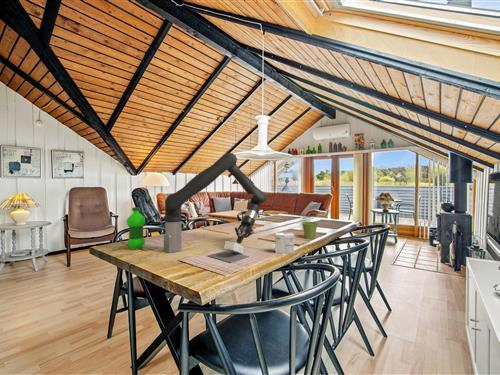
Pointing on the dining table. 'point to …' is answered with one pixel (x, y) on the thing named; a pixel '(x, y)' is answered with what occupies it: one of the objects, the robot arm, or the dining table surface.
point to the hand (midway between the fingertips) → (238, 242)
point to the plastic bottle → (136, 229)
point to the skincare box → (233, 247)
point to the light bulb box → (284, 243)
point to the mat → (228, 256)
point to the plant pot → (309, 229)
